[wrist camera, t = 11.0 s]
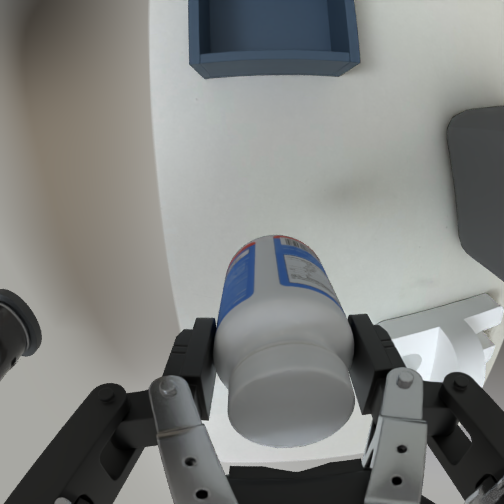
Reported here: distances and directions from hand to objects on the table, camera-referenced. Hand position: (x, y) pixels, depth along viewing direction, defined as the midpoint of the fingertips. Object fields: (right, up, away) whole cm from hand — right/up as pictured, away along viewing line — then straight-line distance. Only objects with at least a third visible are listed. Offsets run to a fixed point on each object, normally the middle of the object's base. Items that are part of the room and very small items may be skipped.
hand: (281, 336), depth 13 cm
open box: (0, +26, +11) cm, 28 cm away
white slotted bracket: (+23, -8, +24) cm, 34 cm away
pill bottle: (0, +2, +5) cm, 6 cm away
